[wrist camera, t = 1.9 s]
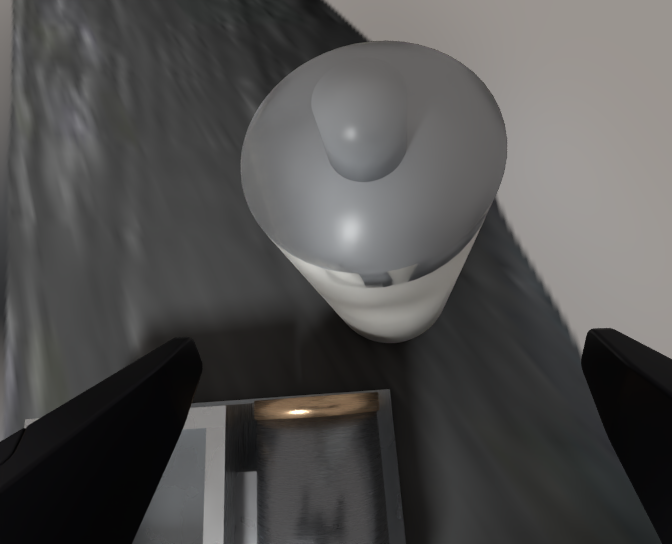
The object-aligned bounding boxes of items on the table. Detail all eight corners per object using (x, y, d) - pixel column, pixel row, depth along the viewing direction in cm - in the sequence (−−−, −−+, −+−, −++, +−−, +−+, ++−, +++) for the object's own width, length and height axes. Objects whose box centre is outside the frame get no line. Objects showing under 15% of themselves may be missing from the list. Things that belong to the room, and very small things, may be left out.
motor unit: (415, 629, 16) (419, 748, 11) (80, 624, 18) (-54, 721, 13) (390, 389, 19) (384, 388, 14) (103, 409, 21) (1, 416, 16)
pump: (456, 337, 19) (567, 220, 6) (336, 348, 20) (203, 266, 7) (438, 226, 21) (494, -53, 8) (329, 240, 22) (212, 9, 9)
